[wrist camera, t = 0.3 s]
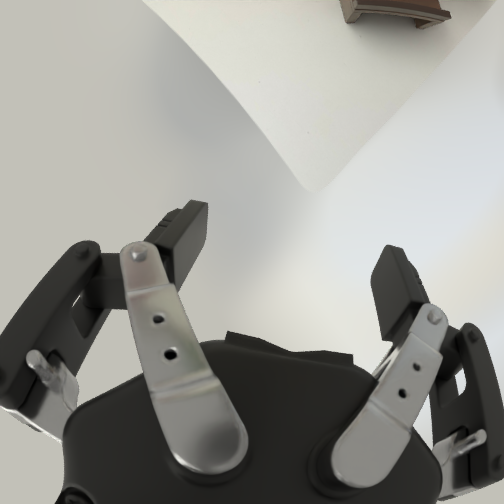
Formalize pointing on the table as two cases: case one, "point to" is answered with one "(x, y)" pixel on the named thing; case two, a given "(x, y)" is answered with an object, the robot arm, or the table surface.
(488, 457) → the robot arm
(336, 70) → the table surface
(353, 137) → the table surface
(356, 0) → the wooden shelf
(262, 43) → the table surface
